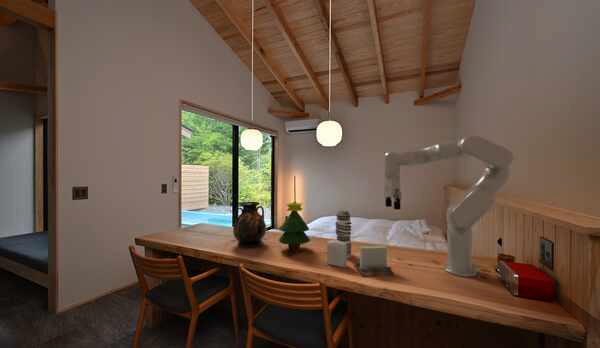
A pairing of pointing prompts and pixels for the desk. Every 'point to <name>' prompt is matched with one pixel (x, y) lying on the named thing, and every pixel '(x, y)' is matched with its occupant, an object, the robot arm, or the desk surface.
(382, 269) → the door track
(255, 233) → the amphora vase
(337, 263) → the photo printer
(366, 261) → the pale sage cube
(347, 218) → the grey layered cylinder
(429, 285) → the desk surface
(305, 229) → the decorative tree
